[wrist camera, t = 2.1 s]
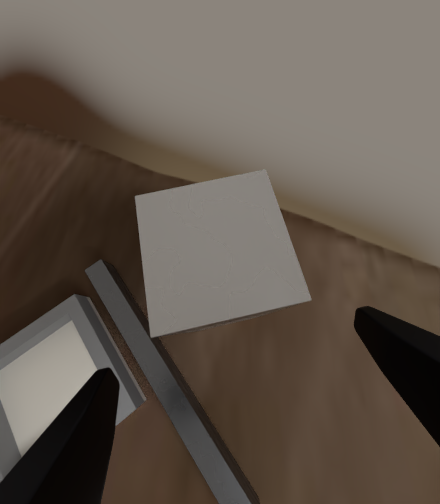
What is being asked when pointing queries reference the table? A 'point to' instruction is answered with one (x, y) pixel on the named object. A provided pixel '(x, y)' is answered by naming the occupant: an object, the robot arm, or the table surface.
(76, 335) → the plate
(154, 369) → the door edge strip
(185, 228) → the block
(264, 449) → the table surface
